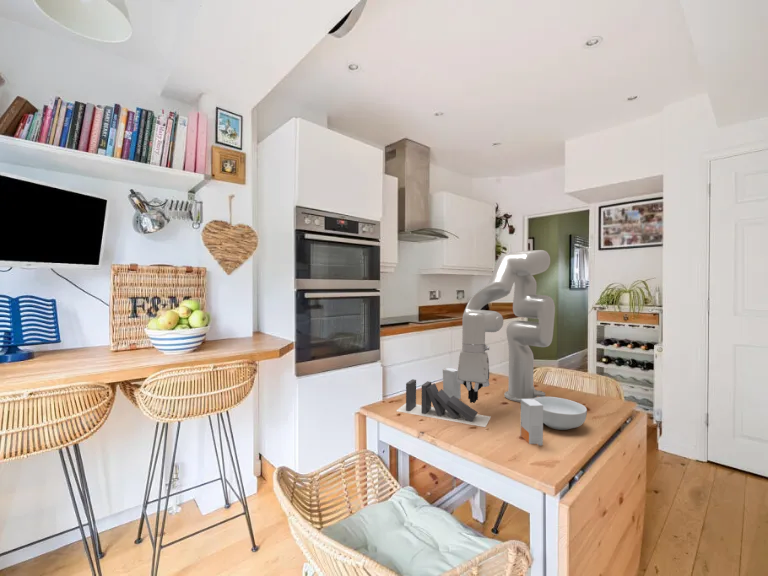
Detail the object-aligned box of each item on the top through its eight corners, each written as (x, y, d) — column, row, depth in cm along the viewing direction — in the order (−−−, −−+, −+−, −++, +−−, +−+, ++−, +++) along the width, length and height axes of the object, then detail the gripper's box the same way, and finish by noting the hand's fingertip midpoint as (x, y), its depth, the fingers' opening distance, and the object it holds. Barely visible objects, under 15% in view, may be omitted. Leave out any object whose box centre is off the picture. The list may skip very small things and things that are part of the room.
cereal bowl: (567, 440, 108) (567, 417, 108) (520, 422, 122) (520, 401, 122) (597, 428, 117) (597, 407, 117) (550, 412, 131) (550, 393, 131)
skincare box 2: (519, 437, 111) (520, 398, 110) (533, 436, 111) (533, 398, 111) (529, 446, 105) (529, 405, 104) (543, 445, 105) (544, 405, 105)
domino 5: (477, 412, 126) (453, 395, 129) (474, 418, 120) (448, 400, 124) (475, 416, 126) (450, 398, 130) (471, 422, 121) (446, 404, 124)
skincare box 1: (461, 399, 145) (461, 369, 145) (454, 402, 142) (454, 371, 142) (449, 395, 150) (449, 367, 150) (442, 398, 147) (442, 368, 147)
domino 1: (416, 406, 136) (416, 379, 136) (410, 411, 131) (410, 383, 130) (412, 405, 137) (412, 379, 136) (406, 410, 131) (406, 383, 131)
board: (491, 418, 126) (491, 416, 126) (485, 428, 117) (485, 427, 117) (406, 404, 140) (406, 402, 140) (395, 412, 131) (395, 410, 131)
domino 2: (431, 408, 133) (431, 381, 133) (425, 414, 128) (425, 386, 128) (427, 407, 134) (427, 381, 134) (421, 413, 129) (421, 385, 128)
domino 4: (461, 410, 128) (441, 388, 131) (457, 416, 123) (436, 393, 126) (458, 413, 129) (438, 391, 132) (454, 419, 123) (433, 396, 126)
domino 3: (437, 416, 126) (425, 389, 128) (442, 410, 131) (431, 384, 133) (441, 414, 125) (429, 387, 127) (446, 409, 131) (434, 383, 132)
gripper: (497, 348, 123) (497, 401, 123) (454, 344, 130) (454, 395, 130) (494, 352, 116) (493, 408, 117) (449, 348, 123) (448, 401, 123)
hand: (473, 401), depth 123 cm, fingers closed
